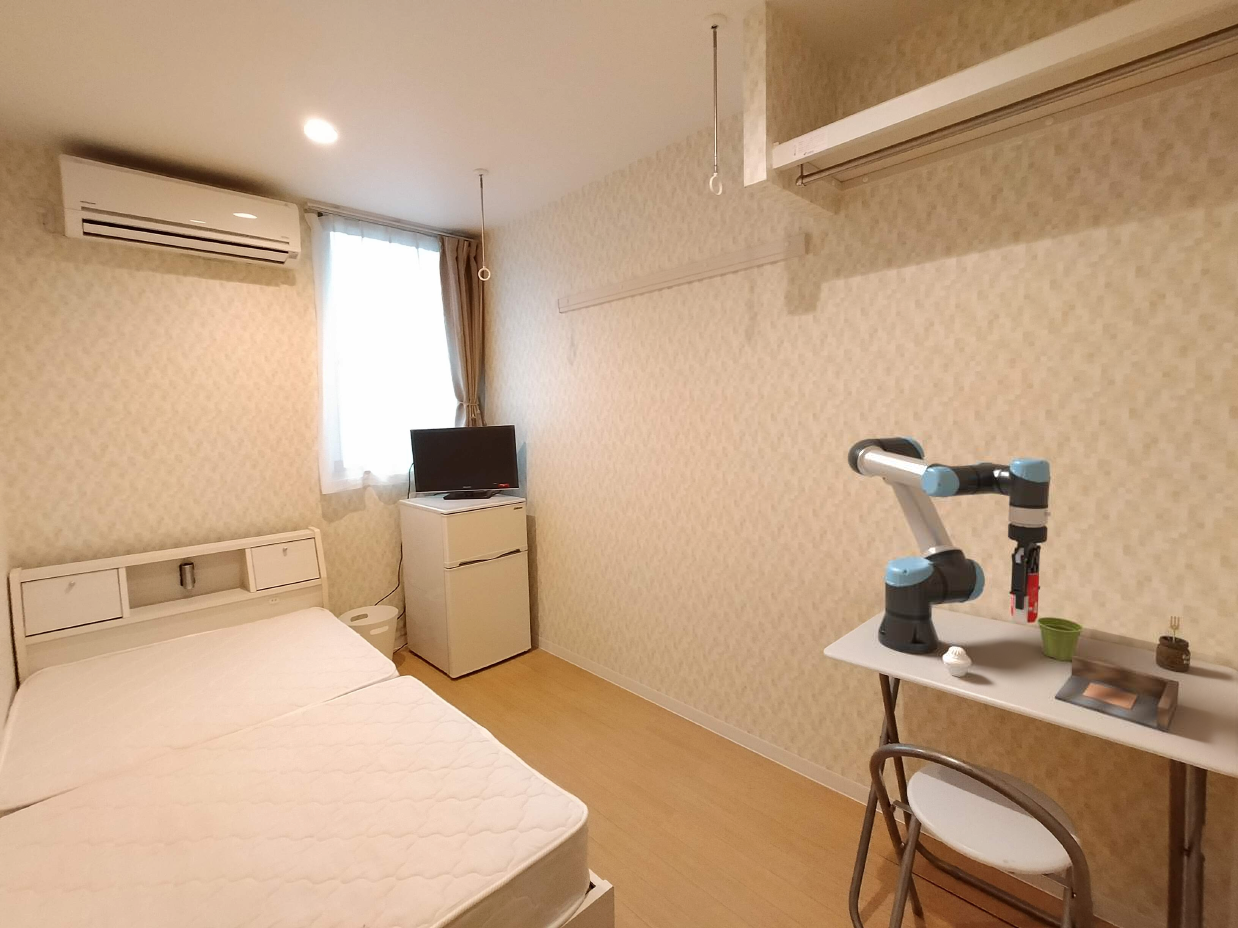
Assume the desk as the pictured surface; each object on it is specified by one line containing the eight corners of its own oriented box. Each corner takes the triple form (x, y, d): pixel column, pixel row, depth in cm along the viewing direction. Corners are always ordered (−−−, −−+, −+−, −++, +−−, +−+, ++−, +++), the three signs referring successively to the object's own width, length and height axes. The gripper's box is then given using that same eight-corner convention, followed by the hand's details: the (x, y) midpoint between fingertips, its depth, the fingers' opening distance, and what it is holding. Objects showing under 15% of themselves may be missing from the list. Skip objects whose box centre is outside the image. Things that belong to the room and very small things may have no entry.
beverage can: (1008, 619, 133) (1010, 571, 132) (1013, 613, 137) (1015, 566, 136) (1035, 625, 130) (1037, 575, 129) (1039, 618, 133) (1041, 570, 132)
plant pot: (1090, 664, 139) (1092, 631, 138) (1047, 662, 141) (1049, 630, 140) (1068, 648, 148) (1069, 617, 147) (1028, 647, 150) (1029, 616, 149)
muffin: (955, 681, 133) (956, 653, 133) (936, 669, 139) (936, 643, 139) (977, 677, 135) (978, 650, 134) (957, 666, 141) (958, 640, 140)
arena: (1054, 698, 124) (1055, 677, 124) (1072, 674, 134) (1073, 655, 134) (1166, 732, 110) (1168, 708, 110) (1177, 703, 120) (1178, 681, 120)
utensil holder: (1155, 667, 136) (1158, 620, 135) (1155, 658, 141) (1158, 613, 140) (1189, 675, 132) (1193, 626, 131) (1188, 665, 137) (1192, 619, 135)
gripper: (1035, 532, 122) (1031, 633, 125) (1057, 520, 134) (1053, 612, 136) (996, 527, 128) (992, 624, 131) (1020, 516, 140) (1017, 604, 142)
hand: (1023, 617), depth 133 cm, fingers closed on beverage can, 5 cm apart
